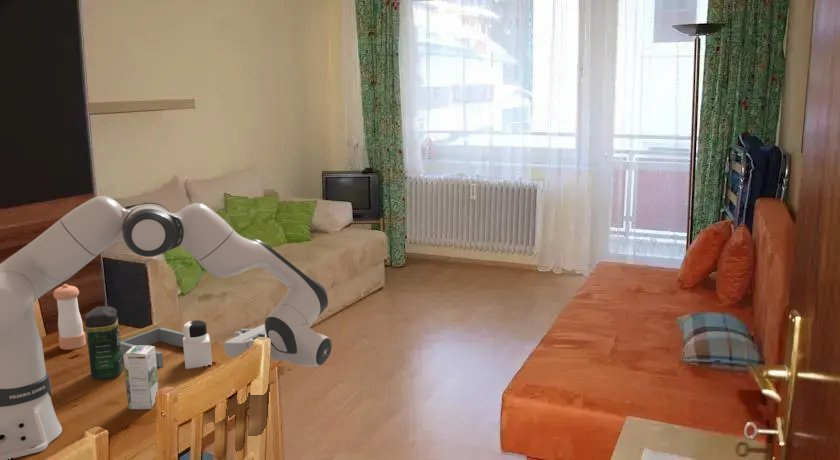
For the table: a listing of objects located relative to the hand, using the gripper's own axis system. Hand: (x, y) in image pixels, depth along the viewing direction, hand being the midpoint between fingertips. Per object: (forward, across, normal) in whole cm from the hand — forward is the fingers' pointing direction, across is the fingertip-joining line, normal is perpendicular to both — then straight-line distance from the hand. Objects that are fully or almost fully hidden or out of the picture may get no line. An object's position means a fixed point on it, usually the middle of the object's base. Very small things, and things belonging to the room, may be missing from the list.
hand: (238, 333), depth 198 cm
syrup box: (+8, +26, +11) cm, 29 cm away
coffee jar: (+32, +18, +11) cm, 39 cm away
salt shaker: (+61, +9, +11) cm, 63 cm away
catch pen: (+33, 0, +11) cm, 35 cm away
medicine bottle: (+16, 0, +12) cm, 20 cm away
